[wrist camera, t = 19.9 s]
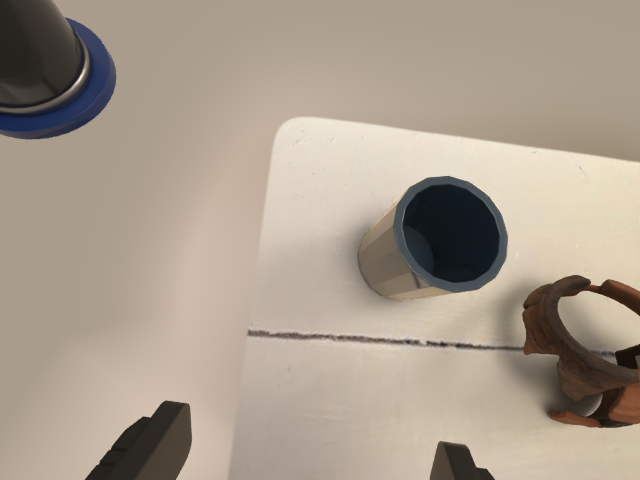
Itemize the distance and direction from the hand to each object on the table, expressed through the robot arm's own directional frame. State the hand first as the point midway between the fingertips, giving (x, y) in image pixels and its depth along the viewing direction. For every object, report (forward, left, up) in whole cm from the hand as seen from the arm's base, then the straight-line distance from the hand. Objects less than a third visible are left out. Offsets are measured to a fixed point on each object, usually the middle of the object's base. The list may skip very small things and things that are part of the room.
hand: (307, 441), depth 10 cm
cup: (+11, +3, -12) cm, 16 cm away
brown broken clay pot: (+19, -10, -12) cm, 24 cm away
